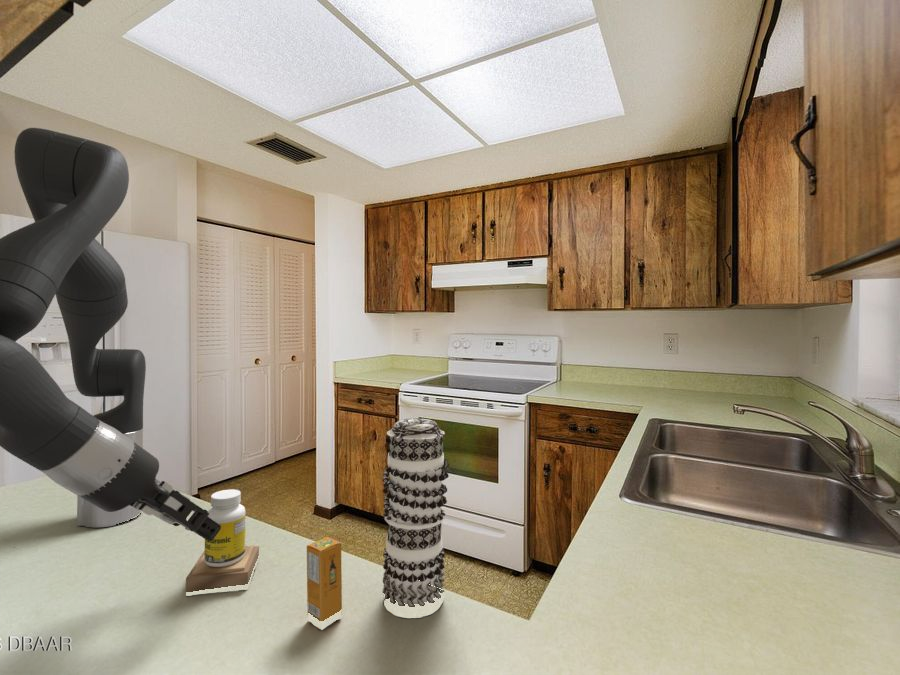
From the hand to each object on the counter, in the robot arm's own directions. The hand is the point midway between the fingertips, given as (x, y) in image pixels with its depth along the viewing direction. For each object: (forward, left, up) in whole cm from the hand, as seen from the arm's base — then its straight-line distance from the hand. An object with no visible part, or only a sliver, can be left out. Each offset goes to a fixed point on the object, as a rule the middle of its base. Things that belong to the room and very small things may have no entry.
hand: (198, 526), depth 62 cm
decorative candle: (+30, -8, -10) cm, 32 cm away
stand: (+3, +3, -9) cm, 10 cm away
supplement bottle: (+3, +3, -7) cm, 8 cm away
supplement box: (+18, -10, -10) cm, 23 cm away
